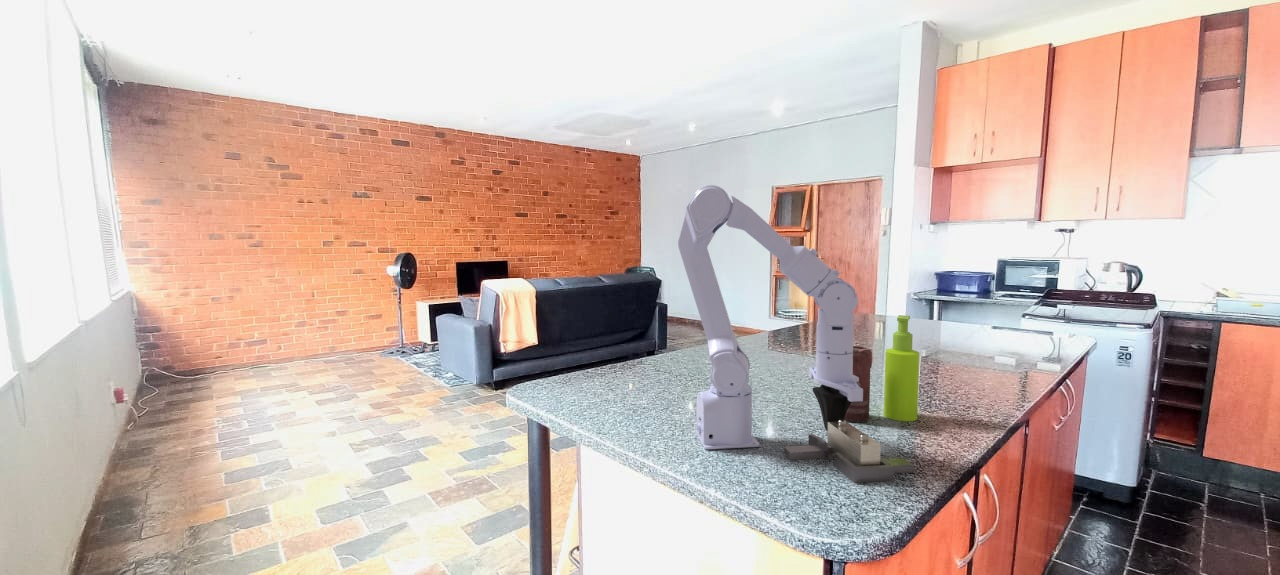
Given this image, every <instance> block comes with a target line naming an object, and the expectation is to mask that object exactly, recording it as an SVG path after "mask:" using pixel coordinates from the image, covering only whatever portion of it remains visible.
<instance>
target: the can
mask: <svg viewBox="0 0 1280 575" xmlns="http://www.w3.org/2000/svg"><path fill="white" fill-rule="evenodd" d="M872 364H873V352H872V350H871V349H870V348H867V347H863V346H858V345H853V375H855V376H857V377H859V381H858V382H856V383H857V384H858V386H859V387H860V388H862V389H863V401H854V402H852V403H851V405H850V406H849V408H848V410H847V412H846V415H845V418H844V420H846V422H848V423H857V424H858V423H865V422H867V421H868V420H869V419H870V399H871V398H870V397H871V394H870V393H871V369H872Z"/></svg>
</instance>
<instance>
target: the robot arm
mask: <svg viewBox="0 0 1280 575" xmlns="http://www.w3.org/2000/svg"><path fill="white" fill-rule="evenodd" d="M730 196H731V198H730V197H729V195H728V193H727V192H726V191H725V189H724V188H722V187H720V186H718V185H713V184H711V185H710V184H709V185H705V186H703V187H701V188H699V189H698V190H697V191H695V193H694V194H693V196H692V198H691V199H690V200H689V202H688V203H687V205H686V207H685V214H684V218H683V221H682V226H681V229H680V232H679V237H678V240H677V246H678V250H679V253H680V256H681V260H682V263H683V266H684V269H685V272H686V276H687V279H688V282H689V285H690V288H691V292H692V294H693V298H694V301H695V306H696V308H697V311H698V314H699V317H700V320H701V325H702V327H703V330H704V334H705V337H706V340H707V346H708V353H709V358H710V362H711V371H710V381H711V384H710V386H709V389H707V390H704V391H699V392H697V395H696V408H695V409H696V412H695V413H696V430H695V434H696V436H697V437H698V439H699V441H700V444H702V446H703V448H704V449H705V450H720V449H721V450H722V449H724V450H725V449H737V448H738V449H739V448H740V449H741V448H743V449H744V448H759V447H760V445H761V444H760V443H759V441H758V440H757V439H756V438H755V436H754V435H753V434H752V429H753V428H752V425H753V423H752V422H753V420H752V419H753V418H752V417H753V416H752V415H753V411H752V409H753V404H752V403H753V401H752V400H753V388H752V386H750V385H749V381H750V374H749V373H750V372H749V371H750V359H749V357H748V356H747V354H746V353H745V352H744V351H743V350H742V349H741V347H740V344H739V342H738V339H737V337H736V335H735V333H734V329H733V327H732V324H731V320H730V318H729V314H728V311H727V308H726V304H725V302H724V298H723V294H722V290H721V288H720V285H719V282H718V278H717V275H716V272H715V269H714V266H713V261H712V258H711V256H710V253H709V249H708V246H709V244H710V243H711V241H712V240H713V238H714V237H715V235H716V232H718V230H719V229H720V228H722V227H723V225H724V224H725V225H726V226H727V227H728V228H732V229H737V230H741V231H744V232H745V233H747V235H748V236H750V237H751V238H753V239H754V240H755V241H756V242H757V243H758V244H760V245H761V246H762V247H763V248H765V249H766V250H767V251H768V252H769V253H770V254H771V255H773V256H774V257H776V258H777V260H779V272H780V273H781V274H782V275H784V276H785V277H786V278H787V279H788V280H789V281H790V282H792V283H793V284H794V285H795V286H796V287H797V288H799V289H800V290H801V291H802V293H804V294H805V295H806V296H807V297H813V299H814V302H815V304H816V305H817V306H818V308H817V322H816V336H815V337H816V340H815V341H816V344H815V349H816V350H815V366H810V367H809V368H808V378H810V379H812V380H814V382H816V383H817V384H819V385H820V386H815V387H812V393H813V395H815V397H816V400H817V403H818V407H819V408H820V412H821V417H822V422H823V426H824V430H825V431H827V432H828V422H833V421H838V419H844V418H845V415H846V412H847V410H848V408H849V406H850V405H851V403H852V402H854V401H863V389H862V388H860V387H859V386H858V384H857V383H856V382H858V381H859V377H857V376H855V375H853V346H854V331H855V329H854V327H855V325H854V323H853V322H854V311H855V309H856V308H857V306H858V303H859V298H858V296H857V293H856V289H855V288H854V287H853V286H852V284H850V283H849V282H847V281H845V280H844V279H843V278H841V277H839V276H840V275H841V273H840V271H839V270H837V269H831V267H829V266H828V265H827V264H826V263H825V262H824V261H823V260H821V259H820V258H819V257H818V256H817V255H818V254H819V252H818V251H817V250H816V249H815V248H810V249H808V248H807V246H806V245H797V246H793V245H791V244H790V242H788V241H787V240H786V239H785V238H784V237H783V236H782V235H780V234H779V233H778V232H777V231H776V230H775V229H774V228H773V227H772V226H770V224H768V223H767V221H766V220H764V219H763V218H762V217H761V216H760V215H759V214H758V213H757V212H756V211H754V210H753V209H752V208H751V207H750V206H748V205H747V204H745V203H744V202H742V201H741V200H739V199H738V198H736V197H734V196H733V195H730Z"/></svg>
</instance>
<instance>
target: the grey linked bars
mask: <svg viewBox="0 0 1280 575" xmlns="http://www.w3.org/2000/svg"><path fill="white" fill-rule="evenodd" d="M783 454H784V456H786V457H787V459H788V460H789V461H793V460H794V461H795V460H810V459H811V460H812V459H826V460H828V461H832V460H833V458H834V466H835V468H837V469H838V471H840V472H841V473H842V474H843V475H844V476H846V477H847V478H848V479H849V480H850V481H851V482H852V483H854V484H860V483H877V482H892V481H894V480H895V474H909V473H914V464H913V463H912V462H910V461H909V460H907V459H905V458H904V457H895V458H882V457H881V456H880V465H878V466H861V467H856V466H855V465H853V464H852V463H851V462H850V461H849V460H847V459H846V458H845V457H844V456H842V455H841V454H840V453H835V457H834V456H833V447H831V446H830V445H829V444H828V443H827V441H825V440H824V439H823V438H822V437H819V436H817V435H815V434H813V433H810V434H808V444H807V445H806V444H805V445H790V446H789V445H787V446H783Z"/></svg>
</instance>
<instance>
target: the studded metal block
mask: <svg viewBox="0 0 1280 575" xmlns="http://www.w3.org/2000/svg"><path fill="white" fill-rule="evenodd" d="M826 442H827V443H828V444H829V445H830V446H831V447H833V458H835V453H840V454H841V455H842V456H844V457H845V458H846V459H847V460H849V461H850V462H851V463H852V464H853V465H855V466H856V467H861V466H878V465H880V457H881V447H882V446H881V444H880V443H879V442H878V441H876V440H875V439H873V438H872V437H870V436H869V434H867V433H864V432H863V431H861V430H860V429H858V428H857V427H855V426H854V425H852V424H851V423H850V422H847V421H846V420H844V419H838V421H833V422H828V431H827V440H826Z"/></svg>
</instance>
